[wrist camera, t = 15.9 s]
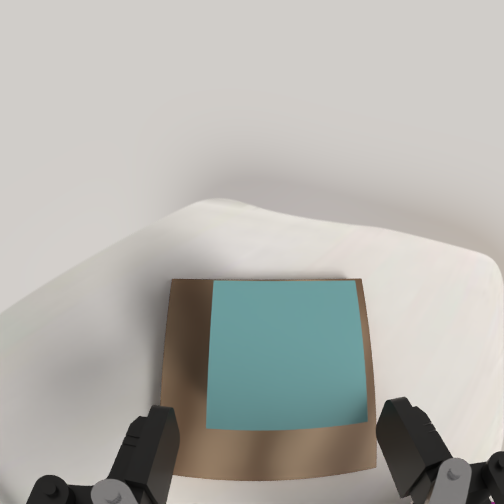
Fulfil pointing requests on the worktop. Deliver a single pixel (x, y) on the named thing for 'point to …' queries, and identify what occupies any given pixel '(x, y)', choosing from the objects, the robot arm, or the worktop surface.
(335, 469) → the plate
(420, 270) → the worktop surface
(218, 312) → the teal rectangular block
